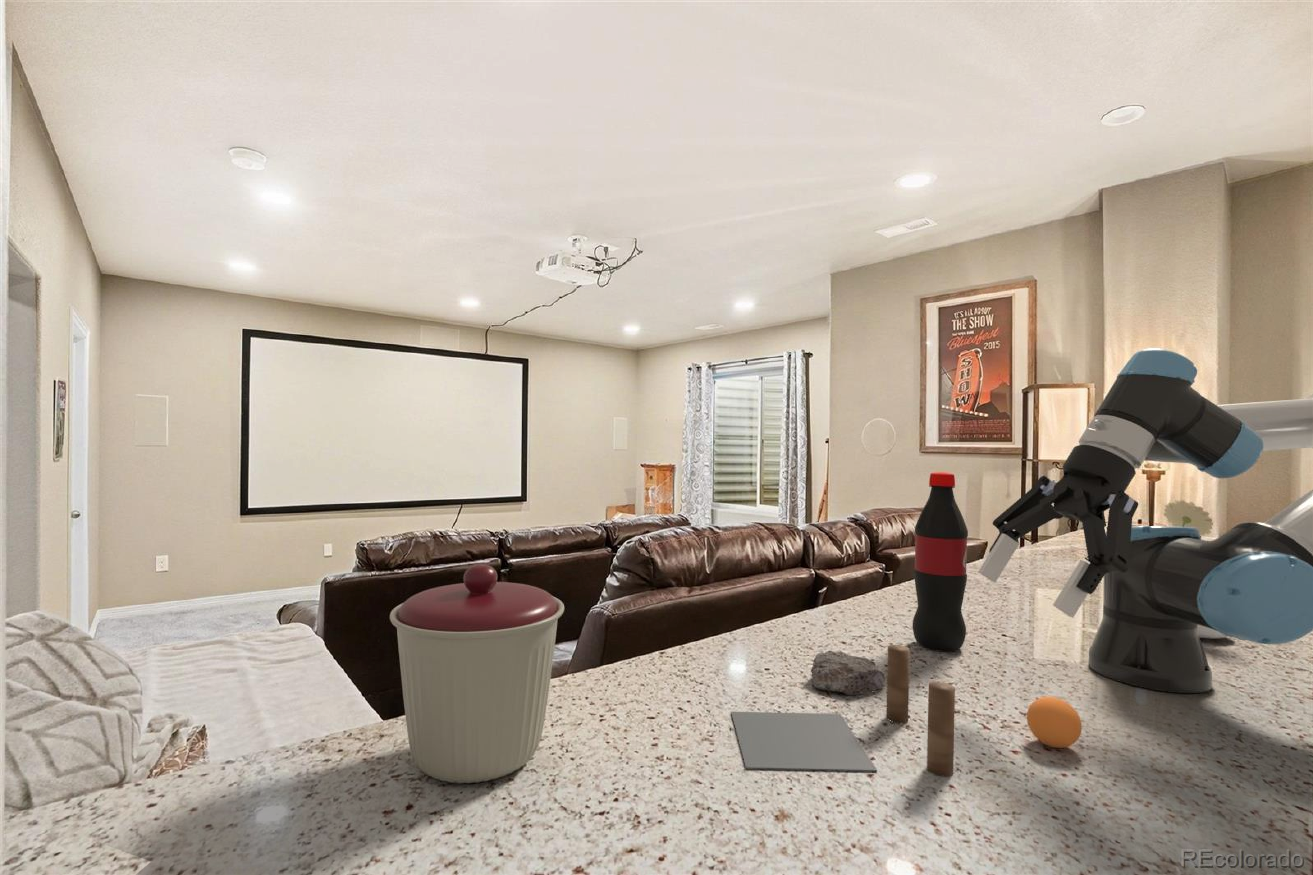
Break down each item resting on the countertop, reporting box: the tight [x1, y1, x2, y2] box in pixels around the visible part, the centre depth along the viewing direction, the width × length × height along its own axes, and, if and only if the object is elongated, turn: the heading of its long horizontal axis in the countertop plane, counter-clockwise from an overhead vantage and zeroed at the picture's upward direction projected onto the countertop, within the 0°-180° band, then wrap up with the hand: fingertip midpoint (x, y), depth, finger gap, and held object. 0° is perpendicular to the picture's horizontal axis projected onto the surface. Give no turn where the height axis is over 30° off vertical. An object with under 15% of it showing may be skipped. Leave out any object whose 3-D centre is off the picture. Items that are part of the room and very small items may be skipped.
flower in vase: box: [1163, 499, 1229, 640], centre depth 123 cm, size 13×11×25 cm
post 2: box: [926, 681, 956, 777], centre depth 70 cm, size 3×3×9 cm
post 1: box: [885, 644, 911, 724], centre depth 83 cm, size 3×3×9 cm
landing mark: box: [731, 711, 878, 772], centre depth 77 cm, size 14×14×1 cm
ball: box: [1026, 696, 1083, 749], centre depth 77 cm, size 6×6×6 cm
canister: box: [389, 563, 565, 784], centre depth 71 cm, size 18×18×21 cm
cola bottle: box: [912, 471, 969, 653], centre depth 113 cm, size 8×8×30 cm
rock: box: [810, 650, 887, 696], centre depth 95 cm, size 9×11×4 cm
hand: (1021, 593), depth 86 cm, fingers open, 13 cm apart
